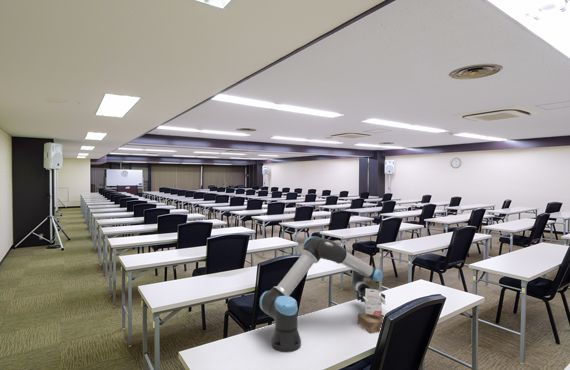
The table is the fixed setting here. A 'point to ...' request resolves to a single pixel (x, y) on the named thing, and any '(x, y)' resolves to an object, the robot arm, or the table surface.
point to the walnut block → (370, 322)
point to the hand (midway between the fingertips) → (376, 302)
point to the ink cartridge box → (373, 302)
